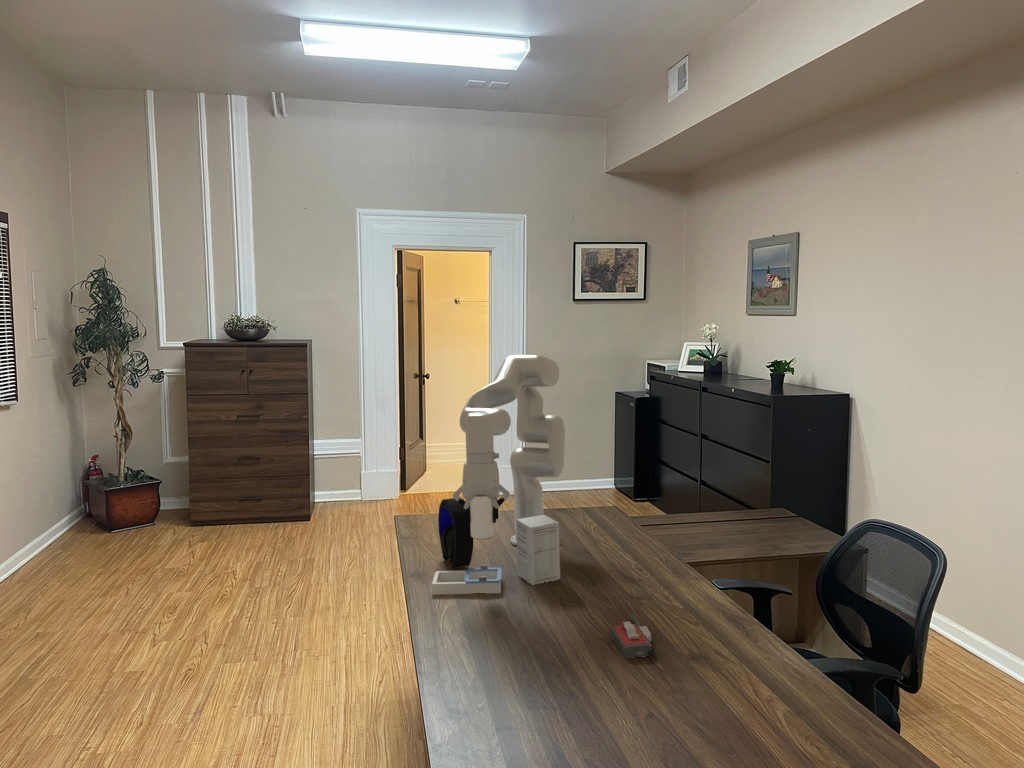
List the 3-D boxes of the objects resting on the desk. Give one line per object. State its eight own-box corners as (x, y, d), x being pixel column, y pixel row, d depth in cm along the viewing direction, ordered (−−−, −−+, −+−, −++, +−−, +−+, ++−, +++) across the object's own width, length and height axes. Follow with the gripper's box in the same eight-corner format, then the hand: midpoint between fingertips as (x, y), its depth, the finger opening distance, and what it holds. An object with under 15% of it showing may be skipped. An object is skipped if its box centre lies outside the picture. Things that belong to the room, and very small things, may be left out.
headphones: (476, 572, 210) (474, 505, 208) (455, 575, 208) (452, 508, 206) (457, 552, 227) (455, 491, 225) (437, 555, 225) (435, 493, 223)
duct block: (502, 579, 203) (501, 564, 203) (501, 593, 193) (501, 577, 193) (436, 581, 204) (435, 565, 203) (432, 595, 194) (431, 578, 193)
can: (498, 534, 198) (496, 491, 197) (487, 540, 193) (486, 497, 192) (477, 531, 201) (476, 490, 200) (466, 538, 195) (464, 495, 194)
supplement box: (546, 569, 211) (544, 513, 209) (561, 579, 202) (560, 521, 201) (516, 575, 206) (515, 518, 205) (531, 586, 198) (530, 527, 196)
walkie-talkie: (664, 659, 156) (636, 620, 175) (664, 640, 155) (636, 603, 175) (625, 663, 154) (601, 623, 174) (625, 644, 154) (601, 606, 174)
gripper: (511, 454, 199) (513, 517, 200) (449, 455, 199) (451, 518, 200) (511, 459, 191) (513, 525, 193) (447, 461, 191) (449, 526, 193)
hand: (482, 521), depth 197 cm, fingers closed on can, 6 cm apart
